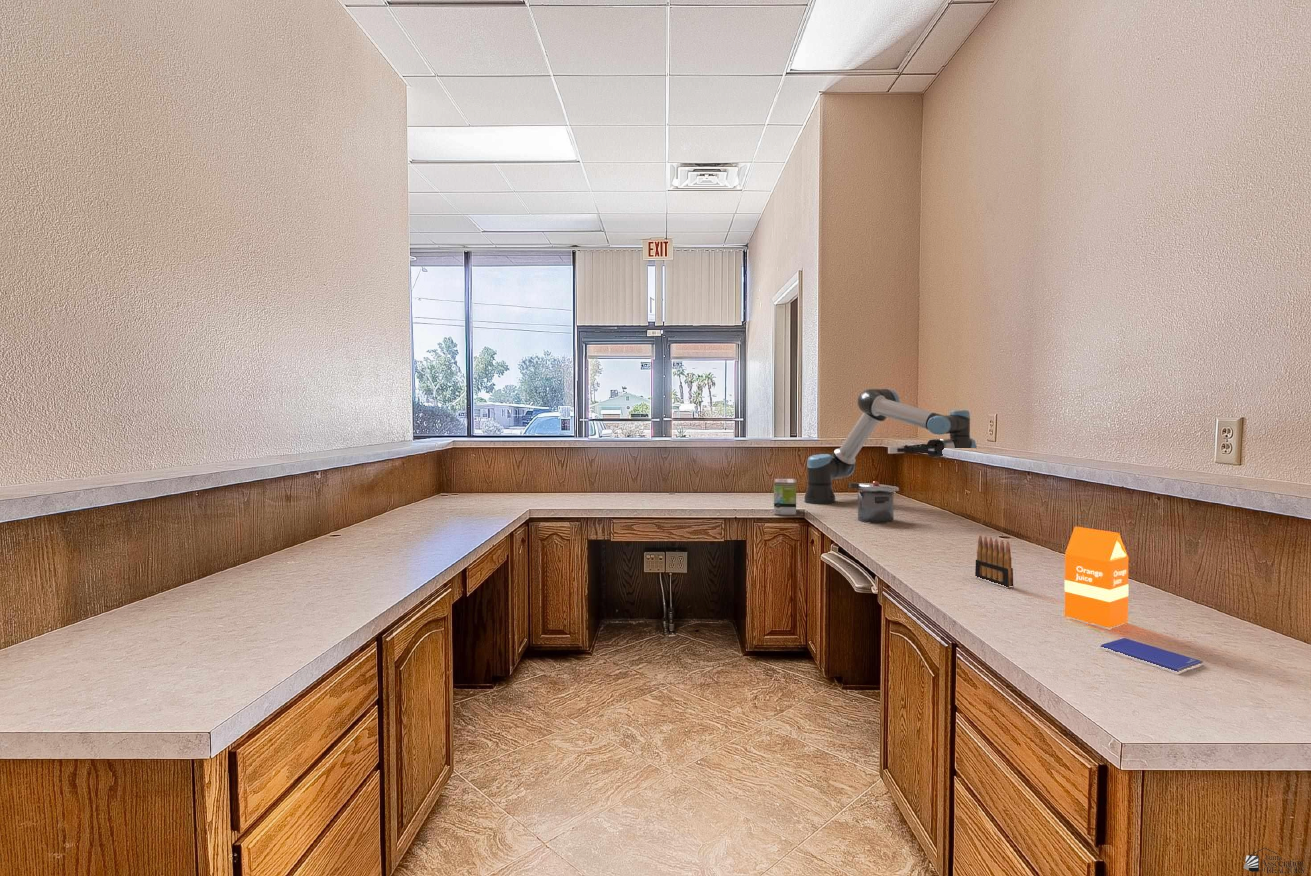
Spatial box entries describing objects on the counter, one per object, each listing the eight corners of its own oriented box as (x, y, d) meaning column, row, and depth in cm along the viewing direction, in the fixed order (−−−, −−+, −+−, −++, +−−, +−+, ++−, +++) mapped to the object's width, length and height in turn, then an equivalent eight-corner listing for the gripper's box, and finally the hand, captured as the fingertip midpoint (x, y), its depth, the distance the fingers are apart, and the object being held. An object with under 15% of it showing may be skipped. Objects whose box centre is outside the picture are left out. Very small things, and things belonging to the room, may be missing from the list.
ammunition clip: (974, 577, 164) (974, 534, 164) (980, 577, 165) (980, 533, 164) (1008, 588, 154) (1008, 542, 154) (1013, 587, 155) (1013, 541, 154)
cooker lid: (845, 485, 257) (845, 478, 257) (890, 488, 256) (891, 480, 256) (855, 489, 242) (855, 482, 242) (903, 493, 241) (904, 485, 241)
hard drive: (1203, 660, 107) (1125, 636, 119) (1177, 668, 104) (1100, 644, 115) (1203, 668, 107) (1125, 644, 119) (1177, 677, 104) (1100, 652, 115)
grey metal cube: (852, 516, 259) (852, 488, 258) (885, 515, 258) (885, 488, 257) (865, 524, 241) (864, 494, 240) (900, 523, 240) (900, 494, 240)
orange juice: (1083, 611, 136) (1083, 524, 135) (1128, 623, 128) (1129, 530, 127) (1063, 618, 132) (1064, 528, 131) (1109, 630, 124) (1110, 535, 124)
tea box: (797, 515, 266) (796, 481, 265) (773, 514, 268) (773, 482, 267) (795, 509, 280) (795, 477, 280) (774, 509, 282) (773, 478, 282)
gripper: (950, 458, 245) (898, 460, 240) (929, 455, 258) (880, 458, 253) (950, 439, 245) (898, 441, 240) (929, 438, 258) (879, 440, 253)
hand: (889, 450), depth 247 cm, fingers closed
